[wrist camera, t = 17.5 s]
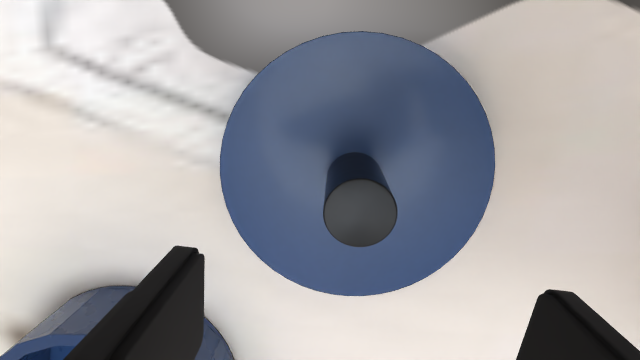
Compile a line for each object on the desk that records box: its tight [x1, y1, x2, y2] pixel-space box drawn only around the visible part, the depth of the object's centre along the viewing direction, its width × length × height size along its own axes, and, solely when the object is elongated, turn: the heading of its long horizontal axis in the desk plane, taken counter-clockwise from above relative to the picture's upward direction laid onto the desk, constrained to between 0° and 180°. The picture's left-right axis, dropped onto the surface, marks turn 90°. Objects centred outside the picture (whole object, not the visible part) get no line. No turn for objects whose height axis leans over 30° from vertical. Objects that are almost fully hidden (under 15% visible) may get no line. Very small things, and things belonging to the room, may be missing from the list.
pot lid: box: [220, 31, 495, 296], centre depth 20 cm, size 18×18×7 cm
